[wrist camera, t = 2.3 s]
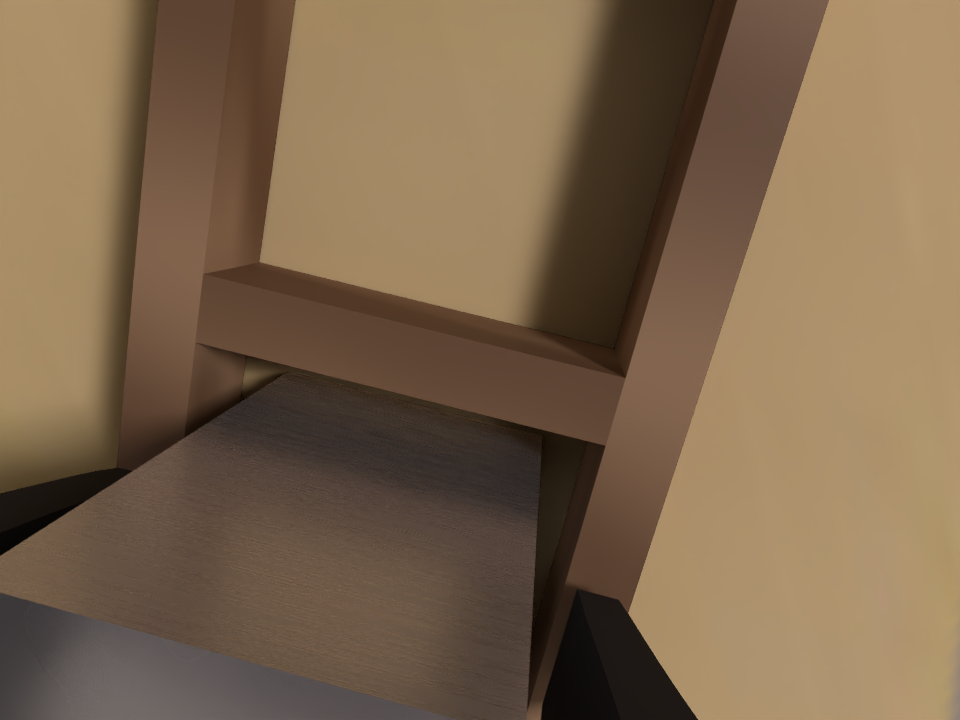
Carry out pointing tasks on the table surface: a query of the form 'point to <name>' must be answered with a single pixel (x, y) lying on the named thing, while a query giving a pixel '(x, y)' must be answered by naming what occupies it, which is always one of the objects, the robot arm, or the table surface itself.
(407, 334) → the brown wooden compartment tray
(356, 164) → the table surface
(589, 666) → the robot arm
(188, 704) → the block
